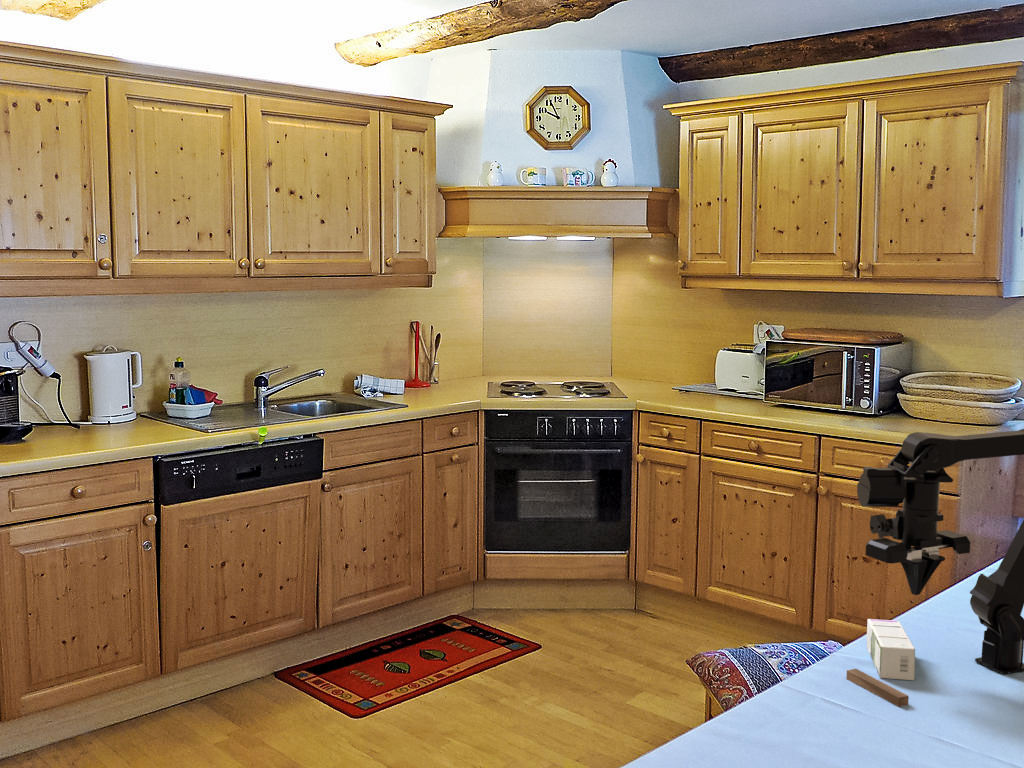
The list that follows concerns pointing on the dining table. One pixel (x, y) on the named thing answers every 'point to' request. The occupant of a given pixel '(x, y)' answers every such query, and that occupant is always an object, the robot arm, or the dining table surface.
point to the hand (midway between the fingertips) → (915, 594)
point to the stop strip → (877, 687)
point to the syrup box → (890, 649)
